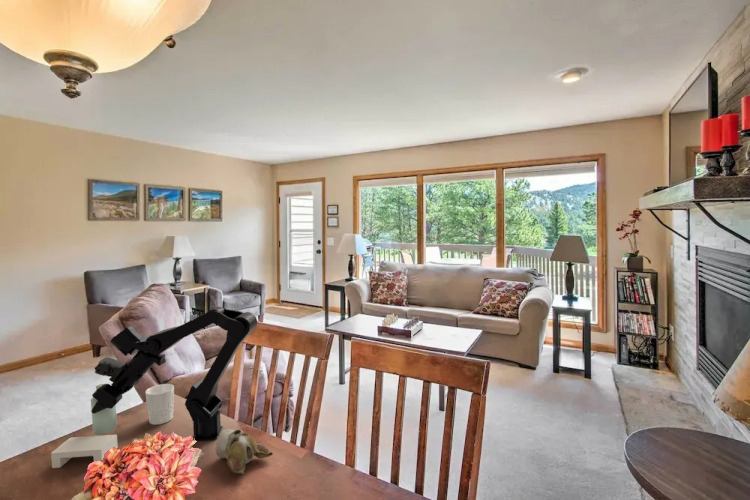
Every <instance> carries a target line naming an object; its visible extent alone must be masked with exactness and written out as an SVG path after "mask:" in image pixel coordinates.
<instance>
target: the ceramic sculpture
mask: <svg viewBox="0 0 750 500" xmlns="http://www.w3.org/2000/svg"><path fill="white" fill-rule="evenodd" d="M215 454H216V455H217V457H218V458H220V459H221V460H222V459H226V465H227V466H228V468H229V470H230V471H231V472H232V473H233V474H234V475H238V476H244V473H245V469H246V464H248V463H250V462H251V461H252V460H253V459H254V456H255V457H256V458H258V459H265V458H268V457H271V456H273V455H274V453H273V452H271V451H270V450H269V449H268V448H267V446H266V445H265V444H262V443H261V441H255V439H254V437H252V436H251V435H249V434H248V433H246V432H244V431H243V430H241V429H232V428H226V427H224V426H223V427H222V428H221V431H220V434H219V436H218V437H217V441H216V447H215Z"/></svg>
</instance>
